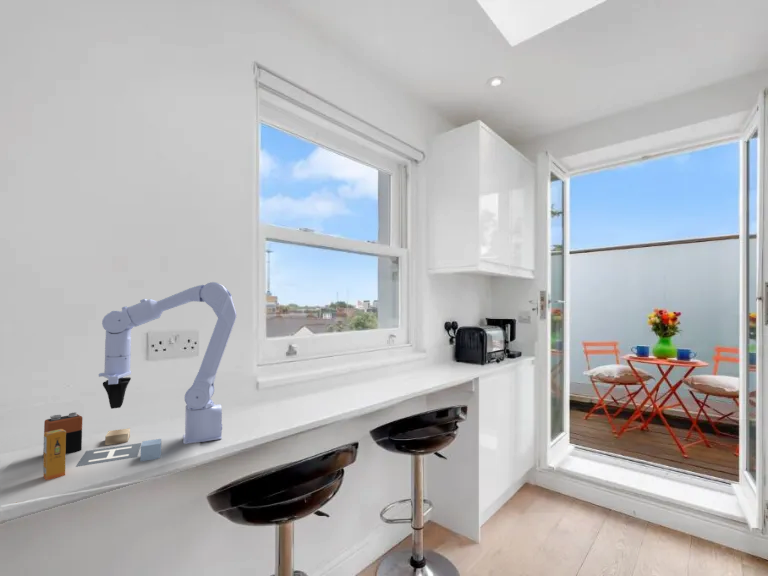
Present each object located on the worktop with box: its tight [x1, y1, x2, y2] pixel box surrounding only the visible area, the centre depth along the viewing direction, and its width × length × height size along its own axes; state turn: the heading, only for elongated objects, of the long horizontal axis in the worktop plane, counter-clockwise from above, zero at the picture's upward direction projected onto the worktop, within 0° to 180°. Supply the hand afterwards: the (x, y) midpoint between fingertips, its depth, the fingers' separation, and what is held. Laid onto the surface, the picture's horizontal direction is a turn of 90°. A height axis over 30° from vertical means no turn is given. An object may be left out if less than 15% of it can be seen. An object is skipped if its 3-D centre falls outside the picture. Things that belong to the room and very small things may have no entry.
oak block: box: [104, 427, 131, 446], centre depth 104 cm, size 5×5×3 cm
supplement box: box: [42, 429, 66, 481], centre depth 83 cm, size 3×3×10 cm
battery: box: [42, 412, 83, 456], centre depth 96 cm, size 4×7×10 cm, turn 143°
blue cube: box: [139, 438, 162, 462], centre depth 93 cm, size 4×4×4 cm
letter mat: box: [75, 442, 142, 468], centre depth 95 cm, size 12×11×1 cm
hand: (116, 406), depth 102 cm, fingers closed
